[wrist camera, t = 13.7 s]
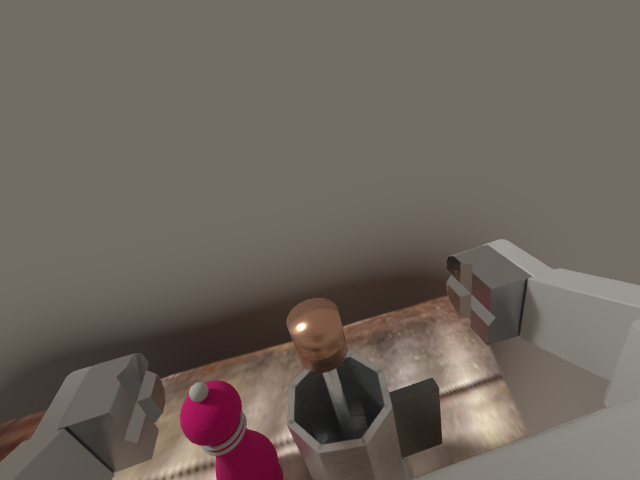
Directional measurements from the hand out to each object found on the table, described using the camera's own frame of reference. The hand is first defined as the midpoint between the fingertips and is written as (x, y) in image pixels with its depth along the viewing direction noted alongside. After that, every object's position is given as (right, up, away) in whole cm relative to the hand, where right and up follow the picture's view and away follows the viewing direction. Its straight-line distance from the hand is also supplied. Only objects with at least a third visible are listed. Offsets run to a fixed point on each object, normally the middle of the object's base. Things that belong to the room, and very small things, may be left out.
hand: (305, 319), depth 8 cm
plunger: (+5, -26, +29) cm, 39 cm away
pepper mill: (-7, -29, +33) cm, 44 cm away
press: (+7, -27, +30) cm, 41 cm away
